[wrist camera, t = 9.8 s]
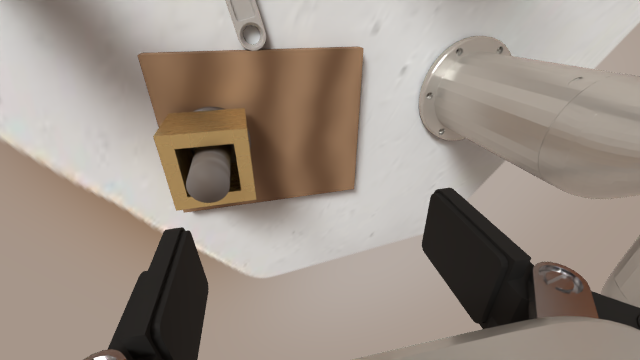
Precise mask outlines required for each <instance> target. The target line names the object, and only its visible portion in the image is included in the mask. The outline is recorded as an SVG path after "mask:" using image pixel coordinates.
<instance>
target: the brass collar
mask: <svg viewBox="0 0 640 360" xmlns="http://www.w3.org/2000/svg"><path fill="white" fill-rule="evenodd" d="M153 137H154V140H155V143H156V147H157V150H158V153H159V156H160V160H161V163H162V166H163V169H164V172H165V176H166V179H167V182H168V185H169V189H170V192H171V195H172V198H173V202H174V205H175V208H176V211H177V210H184V209H191V208H199V207H206V206H213V205H221V204H228V203H235V202H243V201H250V200H256V192H255V183H254V174H253V166H252V158H251V151H250V143H249V136H248V128H247V121H246V113H245V108H239V109H225V110H210V111H196V112H182V113H168V115H167V117H166V118H165V120H164V121H163V123H162V124H161V126H160V127H159V129H158V130H157V132H156V133H155V135H154V136H153ZM224 144H234V148H235V154H236V160H237V162H235V163H230V188H229V192H228V194H227V195H226V196H225V197H224V198H223V199H222V200H220V201H217V202H214V203H203V202H200V201H197V200H195V199H194V198H193V197H191V196H190V194H189V193H188V191H187V189H186V181H187V177H188V174H189V170H190V167H191V163H192V160H193V154H192V150H191V148H193V147H203V146H214V145H224Z"/></svg>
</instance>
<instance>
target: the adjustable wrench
mask: <svg viewBox="0 0 640 360" xmlns="http://www.w3.org/2000/svg"><path fill="white" fill-rule="evenodd" d="M225 1H226V4H227V6H228V9H229V12H230V15H231V18H232V21H233V24H234V27H235V30H236V33H237V36H238V39H239V41H240V43H241V44H242V46H243V47H244V48H246V49H248V50H252V51H254V50H258V49H260V48H261V47H262V46H263V45H264V43H265V41H266V32H265V29H264V26H263V23H262V20H261V16H260V13H259V10H258V7H257V4H256V1H255V0H225ZM249 25H252V26H255V27H257V29H258V30H259V32H260V40H259V42H258V43H256V44H253V45H252V44H249V43H247V42H246V41H245V40H244V38H243V30H244V29H245V27H247V26H249Z"/></svg>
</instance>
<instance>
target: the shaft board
mask: <svg viewBox="0 0 640 360" xmlns="http://www.w3.org/2000/svg"><path fill="white" fill-rule="evenodd" d="M138 58H139V62H140V65H141V69H142V72H143V75H144V79H145V82H146V86H147V89H148V92H149V96H150V99H151V103H152V106H153V109H154V113H155V116H156V119H157V123H158V126H159V127H160V126H161V124H162V123H163V121H164V120H165V118H166V117H167V115H168V113H182V112H196V111H210V110H225V109H239V108H245V113H246V121H247V128H248V136H249V143H250V151H251V158H252V166H253V174H254V183H255V192H256V200H250V201H243V202H235V203H228V204H221V205H213V206H206V207H199V208H191V209H184V210H183V211H184V212H192V211H199V210H206V209H213V208H220V207H228V206H235V205H242V204H249V203H256V202H264V201H271V200H278V199H285V198H292V197H300V196H307V195H314V194H321V193H328V192H336V191H343V190H350V189H354V181H355V166H356V151H357V136H358V121H359V107H360V92H361V77H362V62H363V48H361V47H330V48H295V49H261V50H254V51H252V50H227V51H192V52H158V53H141V54H139V55H138ZM191 150H192V154H193V160H192V163H191V167H190V170H189V174H188V177H187V181H186V189H187V191H188V193H189V194H190V196H191V197H193V198H194V199H195V200H197V201H200V202H203V203H214V202H217V201H220V200H222V199H223V198H224V197H225V196H226V195H227V194H228V192H229V188H230V163H235V162H237V160H236V154H235V148H234V144H224V145H214V146H203V147H193V148H191Z"/></svg>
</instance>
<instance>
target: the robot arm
mask: <svg viewBox="0 0 640 360" xmlns="http://www.w3.org/2000/svg"><path fill="white" fill-rule="evenodd" d="M419 110H420V116H421V119H422V122H423V124H424V125H425V127H426V128H427V129H428V130H429V131H430V132H431V133H432V134H434V135H435V136H437V137H439V138H441V139H444V140H450V141H456V140H462V139H465V138H467V139H469V140H470V141H472V142H474V143H476V144H478V145H479V146H481V147H483V148H485V149H487V150H489V151H490V152H492V153H494V154H496V155H498V156H500V157H501V158H503V159H505V160H507V161H509V162H511V163H512V164H514V165H516V166H518V167H520V168H521V169H523V170H525V171H527V172H529V173H531V174H532V175H534V176H536V177H538V178H540V179H542V180H543V181H545V182H547V183H549V184H551V185H553V186H555V187H557V188H559V189H560V190H562V191H565V192H567V193H570V194H573V195H576V196H580V197H584V198H591V199H613V198H621V197H629V196H636V195H640V76H635V75H628V74H620V73H613V72H607V71H602V70H595V69H589V68H583V67H577V66H570V65H564V64H558V63H552V62H545V61H539V60H533V59H527V58H520V57H514V56H511V53H510V51H509V50H508V48H507V47H506V45H505V44H503V43H502V42H501V41H500V40H497V39H495V38H492V37H486V36H473V37H469V38H465V39H463V40H461V41H458V42H456V43H455V44H453V45H452V46H450V47H449V48H448V49H446V50H445V51H444V52H443V53H442V54H441V55H440V56H439V57H438V58H437V59H436V61H435V62H434V63H433V65H432V66H431V68H430V69H429V71H428V73H427V75H426V77H425V79H424V82H423V84H422V87H421V92H420V97H419ZM422 248H423V251H424V253H425V254H426V255H427V257H428V258H429V260H430V261H431V262H432V264H433V265H434V267H435V268H436V269H437V271H438V272H439V274H440V275H441V276H442V278H443V279H444V280H445V282H446V283H447V285H448V286H449V287H450V289H451V290H452V292H453V293H454V294H455V296H456V297H457V299H458V300H459V302H460V303H461V304H462V306H463V307H464V309H465V310H466V311H467V313H468V314H469V315H470V317H471V318H472V319H473V321H474V322H475V323H479V324H480V326H481V327H482V328H483V329H482V330H478V331H474V332H469V333H465V334H460V335H456V336H452V337H447V338H443V339H438V340H434V341H430V342H425V343H421V344H417V345H413V346H409V347H404V348H400V349H395V350H391V351H387V352H382V353H378V354H374V355H370V356H366V357H361V358H357V359H352V360H640V235H639V237H638V238H637V239H636V241H635V242H634V243H633V245H632V246H631V247H630V249H629V250H628V251H627V253H626V254H625V255H624V257H623V258H622V259H621V261H620V262H619V263H618V264H617V266H616V268H615V269H614V271H613V272H612V273H611V274H610V276H609V277H608V279H607V281H606V283H605V284H604V286H603V288H602V291H601V294H598V293H595V292H592V291H591V290H590V287H589V285H588V283H587V281H586V280H585V279H584V278H583V277H582V276H581V275H579V274H578V273H577V272H575V271H574V270H572V269H570V268H568V267H566V266H563V265H561V264H558V263H553V262H540V263H537V264H536V265H535V266H534V265H533V264H532V263H531V262H530V260H531V257H530V256H529V255H527V254H526V253H525V252H524V251H523V250H522V249H521V248H520V247H518V246H517V245H516V244H515V243H514V242H512V241H511V240H510V239H509V238H508V237H507V236H506V235H505V234H504V233H502V232H501V231H500V230H499V229H498V228H497V227H496V226H494V225H493V224H492V223H491V222H490V221H489V220H488V219H487V218H485V217H484V216H483V215H482V214H481V213H480V212H478V211H477V210H476V209H475V208H474V207H473V206H472V205H470V204H469V203H468V202H467V201H466V200H465V199H464V198H463V197H462V196H460V195H459V194H458V193H457V192H456V191H455V190H454V189H452V188H444V189H437V190H436V191H435V192H434V194H432V195H431V198H430V203H429V209H428V214H427V219H426V225H425V230H424V235H423V240H422ZM207 295H208V282H207V278H206V276H205V273H204V270H203V267H202V264H201V261H200V258H199V255H198V252H197V249H196V246H195V243H194V240H193V238H192V235H191V232H190V231H185V229H184V228H182V227H181V228H175V229H168V230H165V231H164V233H163V235H162V237H161V240H160V242H159V245H158V247H157V250H156V252H155V255H154V257H153V260H152V262H151V265H150V267H149V269H148V271H144V272H142V273H141V274H140V276H139V278H138V280H137V283H136V285H135V287H134V290H133V292H132V294H131V297H130V299H129V301H128V303H127V306H126V308H125V310H124V313H123V315H122V317H121V320H120V322H119V324H118V327H117V329H116V331H115V334H114V336H113V338H112V341H111V343H110V345H109V348H108V350H102V351H100V352H97V353H94V354H92V355H90V356H89V357H87V358H85V359H84V360H197V358H198V352H199V345H200V340H201V333H202V327H203V320H204V315H205V308H206V302H207Z"/></svg>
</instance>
